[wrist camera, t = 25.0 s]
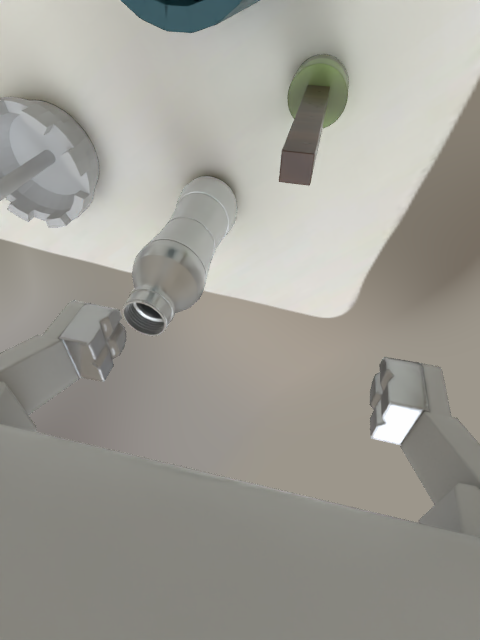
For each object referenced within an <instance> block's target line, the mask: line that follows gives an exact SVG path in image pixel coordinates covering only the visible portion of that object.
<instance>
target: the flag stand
mask: <svg viewBox="0 0 480 640" xmlns="http://www.w3.org/2000/svg"><path fill="white" fill-rule="evenodd" d="M98 177H99V163H98V158H97V155H96V152H95V149H94V147H93V145H92V143H91V141H90V139H89V137H88V136H87V134H86V133H85V132H84V130H83V129H82V127H81V126H80V125H79V124H78V123H77V122H76V121H75V120H74V119H73V118H72V117H71V116H70V115H68V114H67V113H66V112H65V111H63V110H62V109H60V108H58V107H56V106H55V105H52V104H50V103H47V102H44V101H39V100H26V99H23V98H16V97H4V98H0V201H1V200H2V199H4V198H6V199H8V200H9V201H10V202H11V203H10V204H9V207H8V210H9V211H11V212H12V213H14V214H15V215H16V216H18V217H20V218H22V219H24V220H26V221H28V222H29V221H30V220H31V219H32V218H33V217H36V218H38V219H41V220H44V221H46V223H47V225H48V227H50V228H58V227H63V226H66V225H67V224H68V223H70V222H71V221H72V220H74V219H75V218H77V217H79V216H80V215H81V214H82V213H83V212H84V211H85V210H86V209H87V208H88V207H89V205H90V203H91V201H92V199H93V196H94V191H95V186H96V184H97V181H98Z"/></svg>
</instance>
